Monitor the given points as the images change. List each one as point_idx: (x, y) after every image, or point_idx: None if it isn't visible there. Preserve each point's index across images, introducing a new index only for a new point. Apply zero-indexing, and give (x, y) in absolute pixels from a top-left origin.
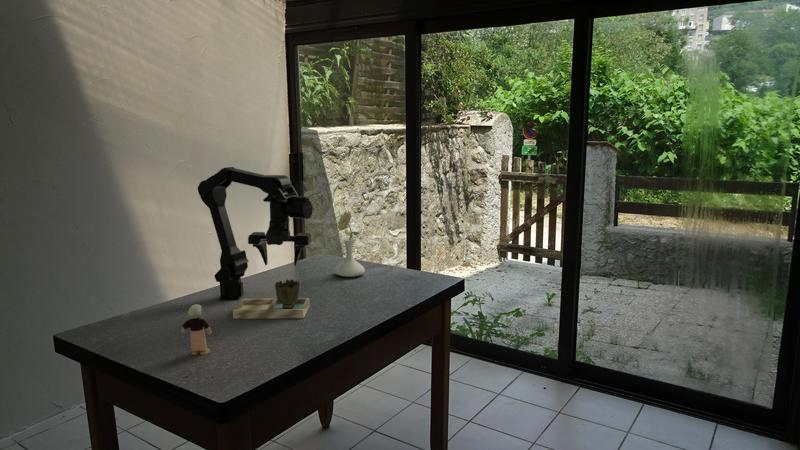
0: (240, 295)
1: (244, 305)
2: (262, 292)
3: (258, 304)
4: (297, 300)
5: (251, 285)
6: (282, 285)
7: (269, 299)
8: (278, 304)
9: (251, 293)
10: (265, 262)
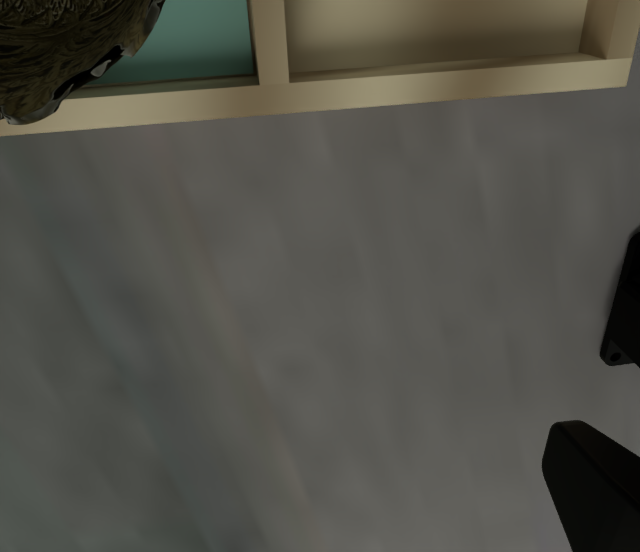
0: (628, 281)
1: (581, 6)
2: (468, 402)
3: (446, 44)
4: None
5: None
6: (122, 34)
7: (343, 79)
8: (228, 35)
9: (543, 375)
10: (609, 457)
